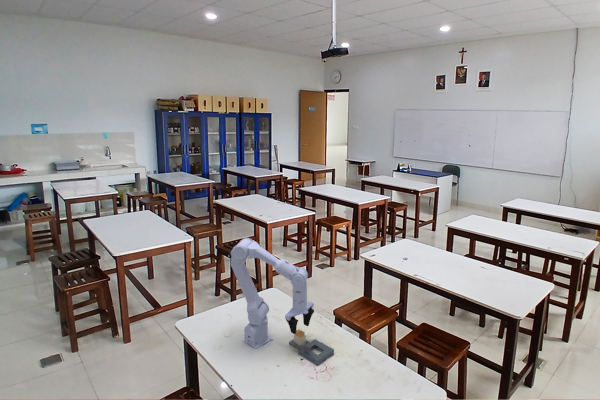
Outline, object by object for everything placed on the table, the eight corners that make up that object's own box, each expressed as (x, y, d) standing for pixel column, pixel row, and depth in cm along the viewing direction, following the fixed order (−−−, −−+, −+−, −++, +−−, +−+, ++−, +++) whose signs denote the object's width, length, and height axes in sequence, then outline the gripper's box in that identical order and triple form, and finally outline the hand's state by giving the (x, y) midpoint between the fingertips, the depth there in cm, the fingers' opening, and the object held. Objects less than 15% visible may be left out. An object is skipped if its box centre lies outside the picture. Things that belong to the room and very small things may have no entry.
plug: (300, 348, 156) (300, 335, 155) (293, 344, 159) (293, 331, 157) (305, 345, 158) (305, 332, 157) (298, 341, 161) (298, 328, 159)
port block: (317, 365, 145) (317, 361, 145) (298, 354, 152) (298, 349, 152) (333, 353, 153) (334, 349, 152) (315, 343, 159) (315, 339, 159)
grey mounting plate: (300, 351, 154) (300, 348, 154) (289, 344, 159) (289, 341, 158) (310, 345, 158) (310, 342, 158) (298, 338, 163) (298, 335, 162)
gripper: (294, 308, 146) (294, 340, 149) (319, 295, 156) (318, 325, 159) (281, 302, 150) (281, 333, 154) (306, 290, 161) (306, 319, 164)
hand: (299, 328), depth 157 cm, fingers open, 7 cm apart
